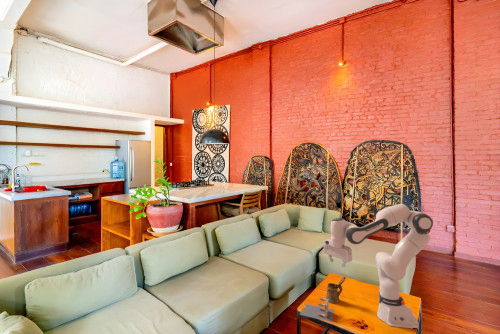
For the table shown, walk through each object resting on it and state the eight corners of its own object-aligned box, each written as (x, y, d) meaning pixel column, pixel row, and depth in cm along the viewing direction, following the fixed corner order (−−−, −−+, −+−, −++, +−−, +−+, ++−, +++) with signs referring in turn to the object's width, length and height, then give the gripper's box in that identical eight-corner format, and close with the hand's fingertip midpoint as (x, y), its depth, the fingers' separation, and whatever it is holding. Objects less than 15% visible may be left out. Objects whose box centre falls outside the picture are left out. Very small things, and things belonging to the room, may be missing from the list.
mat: (334, 310, 169) (334, 309, 169) (331, 322, 157) (331, 322, 157) (304, 303, 177) (304, 303, 177) (299, 315, 165) (299, 314, 165)
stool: (328, 311, 168) (328, 299, 168) (327, 318, 161) (326, 305, 160) (319, 309, 170) (319, 297, 170) (318, 316, 163) (318, 303, 163)
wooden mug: (346, 306, 174) (346, 280, 174) (325, 302, 178) (325, 277, 178) (345, 299, 183) (345, 274, 182) (325, 296, 187) (325, 272, 186)
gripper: (354, 246, 159) (354, 268, 159) (328, 238, 176) (328, 258, 176) (348, 248, 156) (348, 271, 156) (322, 240, 173) (322, 260, 173)
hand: (337, 264), depth 166 cm, fingers open, 8 cm apart
